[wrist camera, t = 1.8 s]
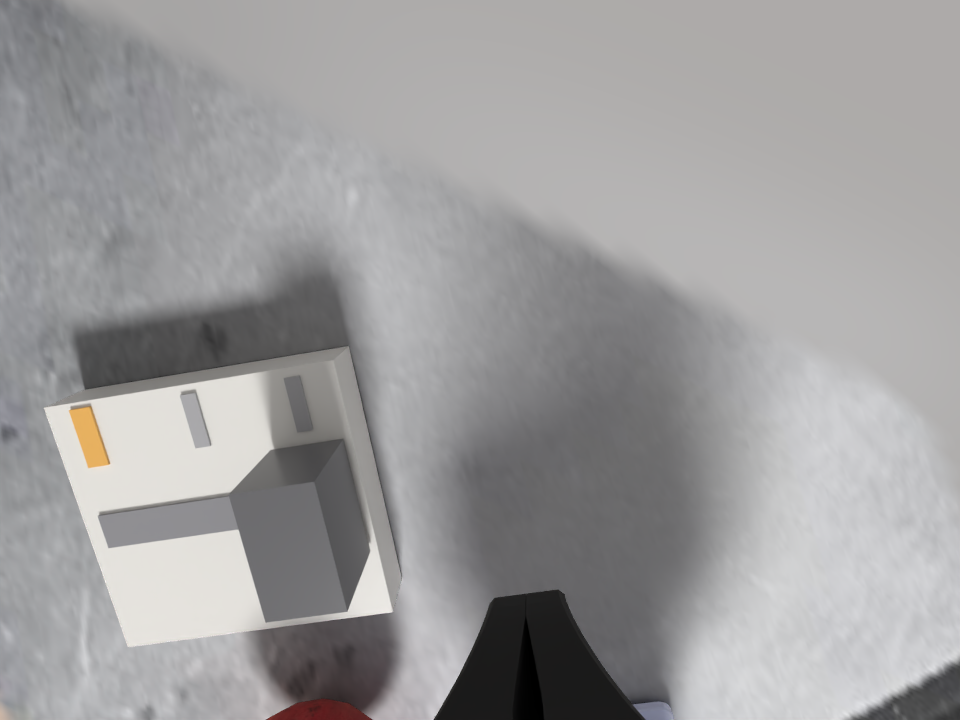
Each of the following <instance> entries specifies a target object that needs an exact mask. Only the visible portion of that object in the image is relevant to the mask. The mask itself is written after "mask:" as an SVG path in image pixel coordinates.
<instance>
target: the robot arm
mask: <svg viewBox="0 0 960 720" xmlns="http://www.w3.org/2000/svg"><path fill="white" fill-rule="evenodd" d="M434 720H674V716H673V713H672V710H671V708H670V706H669V705H668V704H667V703H664V702H649V703H641V704H632V703H631V702H630V701H629V700H628V699H627V697H626V696H625V695H624V694H623V692H622V691H621V690H620V688H619V687H618V686H617V685H616V683H615V682H614V681H613V679H612V678H611V677H610V675H609V674H608V673H607V671H606V670H605V668H604V667H603V666H602V664H601V663H600V661H599V660H598V658H597V657H596V655H595V654H594V652H593V651H592V649H591V647H590V646H589V644H588V643H587V641H586V640H585V638H584V636H583V635H582V633H581V631H580V629H579V627H578V626H577V624H576V622H575V620H574V618H573V616H572V614H571V612H570V609H569V607H568V604H567V602H566V599H565V594H563V593H562V592H561V591H559V590H551V591H544V592H536V593H528V594H521V595H513V596H506V597H498V598H494V599H493V601H492V602H491V603H490V605H489V608H488V611H487V614H486V617H485V619H484V622H483V625H482V627H481V630H480V632H479V634H478V637H477V639H476V641H475V644H474V646H473V648H472V650H471V652H470V654H469V656H468V658H467V660H466V662H465V664H464V666H463V669H462V671H461V673H460V675H459V677H458V678H457V680H456V682H455V684H454V686H453V687H452V689H451V691H450V693H449V694H448V696H447V698H446V700H445V701H444V703H443V705H442V707H441V708H440V710H439V712H438V713H437V715H436V717H435V718H434Z"/></svg>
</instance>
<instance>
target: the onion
mask: <svg viewBox="0 0 960 720" xmlns="http://www.w3.org/2000/svg"><path fill="white" fill-rule="evenodd" d="M266 720H372V719H371V718H369V717H368V716H367V715H365V714H364V713H362V712H361V711H359V710H358V709H357V708H355V707H354V706H352V705H351V704H349V703H345V702H340V701H335V700H330V699H317V700H311V701H305V702H299V703H296V704H294V705H292V706H290V707H289V708H287V709H285V710H283V711H281V712H279V713H277V714H275V715H273V716H272V717H270V718H268V719H266Z"/></svg>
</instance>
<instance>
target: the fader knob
mask: <svg viewBox="0 0 960 720" xmlns="http://www.w3.org/2000/svg"><path fill="white" fill-rule="evenodd" d="M229 499H230V502H231V506H232V509H233V512H234V516H235V519H236V523H237V526H238V530H239V533H240V537H241V540H242V543H243V547H244V550H245V554H246V557H247V561H248V564H249V568H250V571H251V574H252V578H253V581H254V585H255V588H256V592H257V595H258V599H259V602H260V605H261V609H262V612H263V616H264V619H265V623H267V622H275V621H282V620H290V619H297V618H305V617H312V616H320V615H327V614H335V613H342V612H348V609H349V606H350V604H351V601H352V598H353V596H354V593H355V591H356V588H357V585H358V583H359V580H360V577H361V575H362V572H363V570H364V567H365V564H366V562H367V559H368V556H369V554H370V547H369V543H368V539H367V534H366V530H365V526H364V522H363V518H362V514H361V509H360V505H359V501H358V497H357V493H356V488H355V484H354V480H353V476H352V472H351V467H350V463H349V459H348V455H347V451H346V447H345V442H344V439H338V440H331V441H325V442H318V443H312V444H305V445H299V446H292V447H286V448H279V449H273V450H270V451H269V452H268V453H267V454H266V455H265V456H264V457H263V458H262V460H261V461H260V462H259V463H258V464H257V465H256V466H255V467H254V468H253V469H252V470H251V471H250V472H249V473H248V474H247V475H246V476H245V478H244V479H243V480H242V481H241V482H240V483H239V484H238V485H237V486H236V487H235V488H234V489H233V490H232V491H231V492H230V493H229Z"/></svg>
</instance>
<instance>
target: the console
mask: <svg viewBox="0 0 960 720" xmlns="http://www.w3.org/2000/svg"><path fill="white" fill-rule="evenodd" d="M44 409H45V412H46V415H47V418H48V421H49V424H50V426H51V429H52V432H53V435H54V438H55V441H56V443H57V446H58V449H59V452H60V455H61V458H62V461H63V463H64V466H65V469H66V472H67V475H68V478H69V480H70V483H71V486H72V489H73V492H74V495H75V497H76V500H77V503H78V506H79V509H80V512H81V515H82V517H83V520H84V523H85V526H86V529H87V532H88V534H89V537H90V540H91V543H92V546H93V549H94V551H95V554H96V557H97V560H98V563H99V566H100V569H101V571H102V574H103V577H104V580H105V583H106V586H107V588H108V591H109V594H110V597H111V600H112V603H113V605H114V608H115V611H116V614H117V617H118V620H119V623H120V625H121V628H122V631H123V634H124V637H125V640H126V642H127V645H128V647H134V646H141V645H149V644H157V643H164V642H172V641H179V640H187V639H194V638H202V637H209V636H217V635H225V634H232V633H240V632H247V631H255V630H262V629H270V628H277V627H285V626H293V625H300V624H308V623H315V622H323V621H330V620H338V619H345V618H353V617H361V616H368V615H376V614H383V613H391V612H393V610H394V606H395V602H396V599H397V595H398V591H399V588H400V584H401V580H402V577H401V572H400V568H399V564H398V559H397V555H396V550H395V546H394V542H393V537H392V533H391V529H390V524H389V520H388V515H387V511H386V507H385V502H384V498H383V494H382V489H381V485H380V480H379V476H378V472H377V467H376V463H375V459H374V454H373V450H372V445H371V441H370V437H369V432H368V428H367V424H366V419H365V415H364V410H363V406H362V402H361V397H360V393H359V389H358V384H357V380H356V375H355V371H354V367H353V362H352V358H351V354H350V349H349V346H346V347H340V348H334V349H328V350H322V351H316V352H310V353H303V354H297V355H291V356H285V357H279V358H273V359H267V360H261V361H255V362H249V363H243V364H237V365H231V366H225V367H219V368H213V369H207V370H201V371H195V372H189V373H183V374H177V375H171V376H165V377H159V378H153V379H147V380H141V381H135V382H128V383H122V384H116V385H110V386H104V387H98V388H92V389H86V390H83V391H80V392H78V393H76V394H74V395H71V396H69V397H67V398H65V399H62V400H60V401H58V402H56V403H53V404H51V405H49V406H47V407H44ZM338 439H344V442H345V447H346V451H347V455H348V459H349V463H350V467H351V472H352V476H353V480H354V484H355V488H356V493H357V497H358V501H359V505H360V509H361V514H362V518H363V522H364V526H365V530H366V534H367V539H368V543H369V547H370V554H369V556H368V559H367V562H366V564H365V567H364V570H363V572H362V575H361V577H360V580H359V583H358V585H357V588H356V591H355V593H354V596H353V598H352V601H351V604H350V606H349V609H348V612H342V613H335V614H327V615H320V616H312V617H305V618H297V619H290V620H282V621H275V622H267V623H265V619H264V616H263V612H262V609H261V605H260V602H259V599H258V595H257V592H256V588H255V585H254V581H253V578H252V574H251V571H250V568H249V564H248V561H247V557H246V554H245V550H244V547H243V543H242V540H241V537H240V533H239V530H238V526H237V523H236V519H235V516H234V512H233V509H232V506H231V502H230V499H229V493H230V492H231V491H232V490H233V489H234V488H235V487H236V486H237V485H238V484H239V483H240V482H241V481H242V480H243V479H244V478H245V476H246V475H247V474H248V473H249V472H250V471H251V470H252V469H253V468H254V467H255V466H256V465H257V464H258V463H259V462H260V461H261V460H262V458H263V457H264V456H265V455H266V454H267V453H268V452H269V451H270V450H273V449H279V448H286V447H292V446H299V445H305V444H312V443H318V442H325V441H331V440H338Z"/></svg>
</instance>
